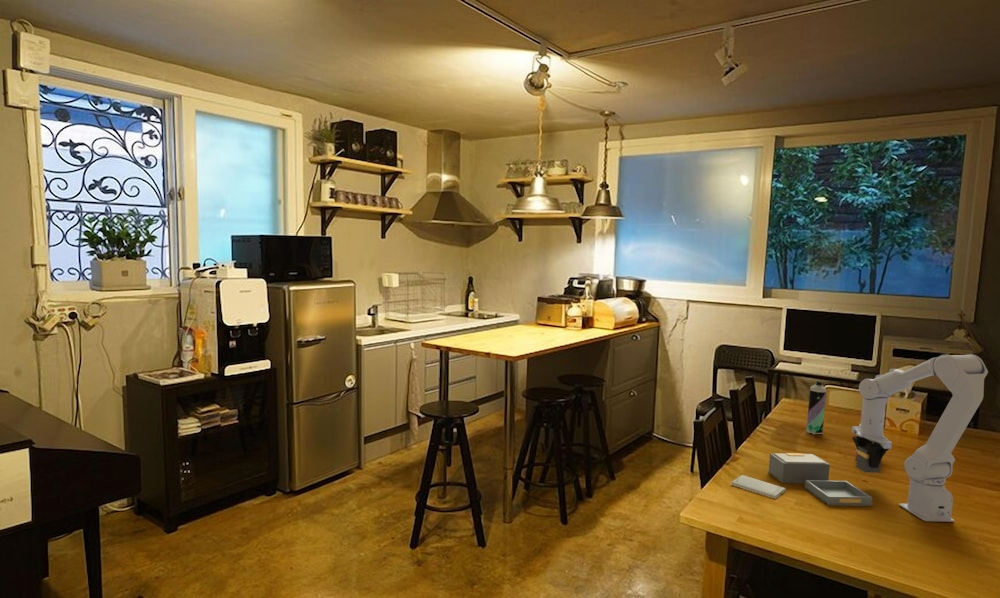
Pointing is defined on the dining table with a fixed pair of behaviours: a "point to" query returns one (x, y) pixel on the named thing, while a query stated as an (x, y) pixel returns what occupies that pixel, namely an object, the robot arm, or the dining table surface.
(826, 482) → the tray
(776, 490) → the hard drive
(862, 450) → the block
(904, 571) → the dining table surface
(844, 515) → the dining table surface
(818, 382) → the spray can
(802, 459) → the pale grey flat box
